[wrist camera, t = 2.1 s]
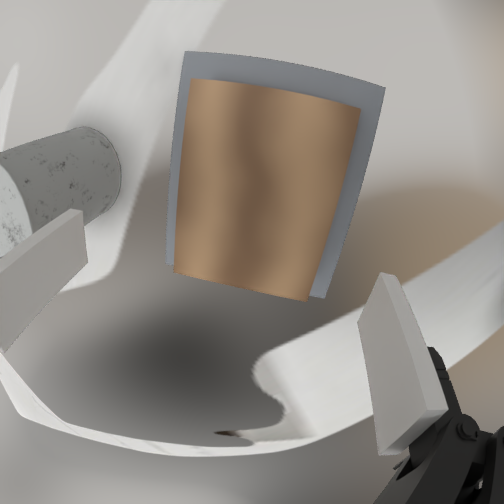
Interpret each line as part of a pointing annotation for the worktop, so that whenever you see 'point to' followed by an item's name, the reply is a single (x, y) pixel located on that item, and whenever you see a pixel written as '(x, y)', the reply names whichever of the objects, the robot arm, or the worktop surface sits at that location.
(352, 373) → the worktop surface
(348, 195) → the mat
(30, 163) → the grey speckled cylinder
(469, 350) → the worktop surface
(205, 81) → the board
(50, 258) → the robot arm
